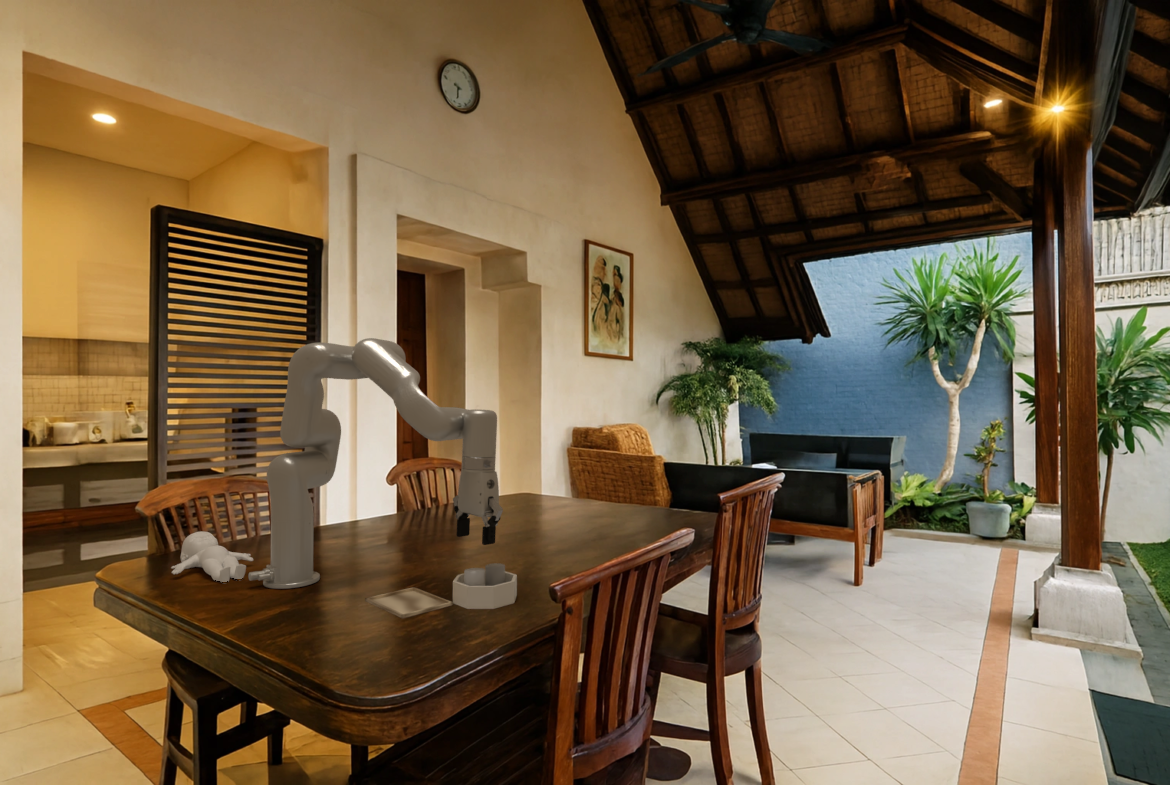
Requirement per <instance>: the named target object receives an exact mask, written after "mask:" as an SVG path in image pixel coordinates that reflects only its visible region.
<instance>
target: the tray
mask: <svg viewBox="0 0 1170 785" xmlns="http://www.w3.org/2000/svg"><path fill="white" fill-rule="evenodd" d="M364 601H365V602H366V603H368V604H370V605H372V606H374V607H376V608H379V609H381V610H382V611H386V612H388V613H389V614H392V615H394V616H396V617H398V618H401V619H407V618H411V617H414V616H417V615H420V614H424V613H425V614H426V613H428V612H429V613H430V612H432V611H436V610H440V609H443V608H447V607H452V606H454V603H453V601H451V600H449V599H445V598H443V597H441V596H438V595H435V594H433V593H430V592H427V591H426V590H422V589H420V588H417V587H415V586H413V587H410V588H409V587H408V588H405V589H399V590H395V591H391V592H390V591H389V592H387V593H384V594H383V593H382V594H377V595H373V596H369V597H365V598H364Z"/></svg>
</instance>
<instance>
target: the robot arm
mask: <svg viewBox="0 0 1170 785" xmlns="http://www.w3.org/2000/svg"><path fill="white" fill-rule="evenodd" d="M406 357H407V356H406V353H405V350H404V349H403V348H402V346H400V345H399V344H398V343H396V342H394V341H391V340H386V339H382V338H381V339H379V338H373V337H369V338H364V339H361V340H359V341H358V342H357V343H356V344H355V345H354V346H350V345H342V344H336V343H331V342H311V343H307V344H305V345H303V346H301V347H299V348H297V350H296V351H295V352H294V353H293V354H292V356H291V358H290V360H289V364H288V368H287V386H286V393H285V398H284V404H283V411H282V416H281V422H280V423H281V424H280V432H279V434H280V439H281V441H282V443H284V445H286V446H287V447H291V448H295V449H296V448H298V449H299V448H304V450H303V451H302V450H301V451H292V452H287V453H282V454H280V455H278V456H276V457H274V458H273V459H272V460H271V462H270V463H269V464H268V466H267V470H266V481H267V486H268V492H269V499H270V500H269V501H270V563H269V564H266V567H265V568H262V570H255V571H250V572H249V573H248V581H256V580H258V581H262V584H263V585H262V586H264V587H265V588H267V589H268V588H269V589H274V590H275V589H277V590H281V589H282V590H285V589H286V590H287V589H294V588H295V589H296V588H300V587H302V588H303V587H306V586H309V585H312V584H315V583H317V582H319V580H320V578H321V575H320V573H319V572H317V571H314V504H313V500H312V498H311V495H310V492H309V489H310V490H311V489H314V488H318V487H323V486H325V485H326V484H328V483H329V482H330V481H331V480H332V478H333V477H334V474H335V472H336V467H337V462H338V456H339V450H340V445H341V443H340V442H341V439H342V438H341V437H342V426H341V422H340V419H339V417H338V415H336V413H334V412H333V411H331V410H329V409H326V408H323V404H324V399H325V390H324V385H323V383H322V381H321V380H323V379H334V380H347V381H348V380H351V381H352V380H360V379H361V380H362V379H369V380H370V381H372V382H373V383H374V384H375V385H376V386H378V387H379V388H380V389H381V390H382V391H383V392H384V393H385V394H387V395H388V397H390V398H391V399H392V400H393V404H394V406H395V408H396V410H397V412H398V413H399V415H400V417H402V419H403V420H404V421H405V422H406V423H407V424H408V425H409V426H411V427H412V428H413V430H415V431H417V433H418V434H420V435H421V436H422V437H423V438H424V439H425V438H426V439H428V440H430V441H433V442H443V441H445V442H446V441H454V440H462V446H461V447H462V448H461V449H462V450H461V471H460V476H459V482H458V489H457V490H458V492H457V495H455V496H454V497H453V498H452V502H453V507H454V508H453V509H454V511H455V519H456V537H458V538H460V537H461V538H462V537H467V536H469V535H470V528H471V527H470V524H471V518H470V517H469V516H470V515H471V516H473V517H480V518H481V520H482V523H483V525H484V526H482V532H481V533H482V536H481V537H482V540H481V544H482V545H483V546H488V545H493V544H495V543H496V532H497V530H496V529H497V526H498V524H499V521H500V520H501V516H502V513H503V511H504V508H503V507H502V506H501V505H500V489H499V487H500V486H499V477H498V472H497V471H496V459H497V458H496V456H497V455H496V454H497V453H496V452H497V431H498V430H497V429H498V416H497V413H496V412H495V410H490V409H466V408H462V407H453V406H452V407H451V406H449V407H448V406H445V407H442V406H439V405H437V404H436V403H435V402H434V401H433V400H432V399H431V398H429V397H428V396H427V395H426V394H425V393H424V392H423V391H422V390H421V389H420V387H419V384H420V382H421V376H420V373H419V372H418V370H416V369H415V368H414V367H412V366H411V364H409V363H407V362H406Z"/></svg>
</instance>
